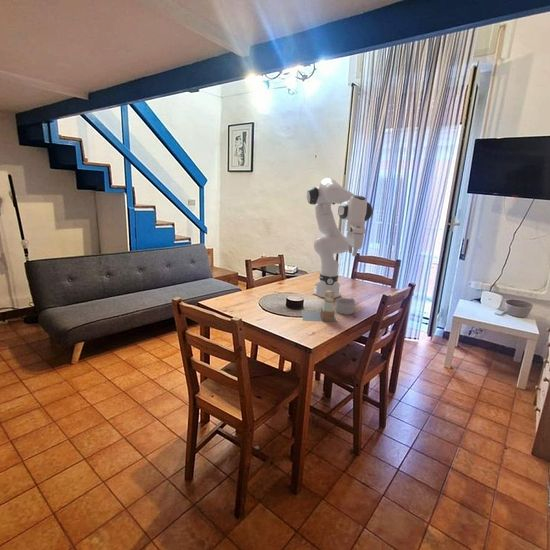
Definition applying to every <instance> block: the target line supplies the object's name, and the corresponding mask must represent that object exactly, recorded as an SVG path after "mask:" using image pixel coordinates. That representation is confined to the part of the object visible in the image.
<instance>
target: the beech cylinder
mask: <svg viewBox="0 0 550 550" xmlns="http://www.w3.org/2000/svg"><path fill="white" fill-rule="evenodd" d="M333 297H334V292H333V291H326V292H325V298H324V299H325V302H333V301H334V298H333Z"/></svg>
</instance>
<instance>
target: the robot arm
mask: <svg viewBox="0 0 550 550" xmlns="http://www.w3.org/2000/svg"><path fill="white" fill-rule="evenodd" d="M306 200H307V202H308V204H310V205H313V206H315V207H314V211H315V218H316V222H317V226H318V227H317V228H318V230H319V232H320V233H321V234H323V235H325V236H322V237H317V238H316V239H315V240H314V243H313V249H314V251H315V253H317V255H319V258H320V262H321V264H320V265H321V266H320V273H319V279H318V281H317V282H315V283H314V286H315V287H314V288H313V292H312V295H314V296H318V297H321V298H323V299H325V292H326V291H333V292H334V297H333V299H335V298H336V299H337V298H338V297H341V296H342V293H340V287H341V286H340V283H339V282H338V281H339V267H340V265H339V264H340V263H339V262H338V261H337V259H335V257H334V254H336V255H337V254H338V255H339V254H343V253H346V252H348V253H349V254H352V257H357V254H358V251H359V250H361V248H362V247H363V243H364V236H365V234H366V226H365V225H366V222H367V221H368V220H369V219H371V218H372V216H373V213H374V209H373V207H372V205H371V204H370V202H367V198H366V197H365V196H362V195H355V194H353V193H352V192H351V191H348V190H347V189H346V188H344V186H341V184H339V183H338V182H337V181H336V180H334V179H333V178H330V177H325V178H323V179H322V180H321V181H320V183H319V186H313V187H311V188H308V190H307V191H306ZM335 204H339V206H338V209H337V215H338V217H339V218H340V219H342V220H345V221H347V222H346V232H347V234H346V236H345V235H343V233H342V232H341V230H340V229H339V228H338V226H337V223H336V220H335V217H334V214H333V210H332V206H333V205H335Z"/></svg>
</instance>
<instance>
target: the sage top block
mask: <svg viewBox="0 0 550 550" xmlns="http://www.w3.org/2000/svg"><path fill="white" fill-rule="evenodd" d="M334 307H335V302H334V300H333V302H325V298H323V299H322V307H321V308H323V311H324V312H333V311H334V309H335V308H334Z"/></svg>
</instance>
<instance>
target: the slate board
mask: <svg viewBox="0 0 550 550" xmlns="http://www.w3.org/2000/svg"><path fill="white" fill-rule="evenodd" d="M300 313H301V318H302V321H303V322H304V321H306V322H324V323H325V322H326V323H338V320H337V319H336V316H335V315H334V321H322V319H321V317H320V316H321V311H309V310H300Z"/></svg>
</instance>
